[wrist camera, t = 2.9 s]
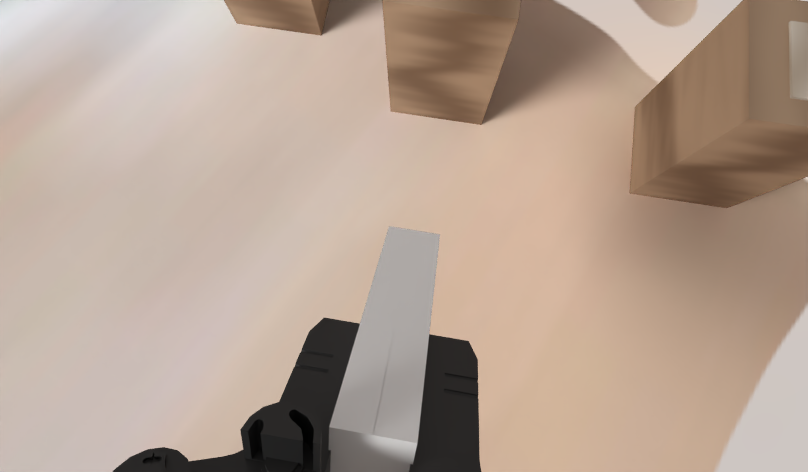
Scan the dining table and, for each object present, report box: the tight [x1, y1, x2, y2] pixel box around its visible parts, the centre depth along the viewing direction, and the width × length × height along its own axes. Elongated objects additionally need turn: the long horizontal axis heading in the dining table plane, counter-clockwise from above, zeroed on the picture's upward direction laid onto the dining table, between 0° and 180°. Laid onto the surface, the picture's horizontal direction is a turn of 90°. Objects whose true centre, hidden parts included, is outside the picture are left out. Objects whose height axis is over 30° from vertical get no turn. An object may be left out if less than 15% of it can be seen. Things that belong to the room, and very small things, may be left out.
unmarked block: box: [382, 0, 521, 125], centre depth 25 cm, size 6×6×10 cm
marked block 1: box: [630, 0, 808, 208], centre depth 23 cm, size 6×6×10 cm
